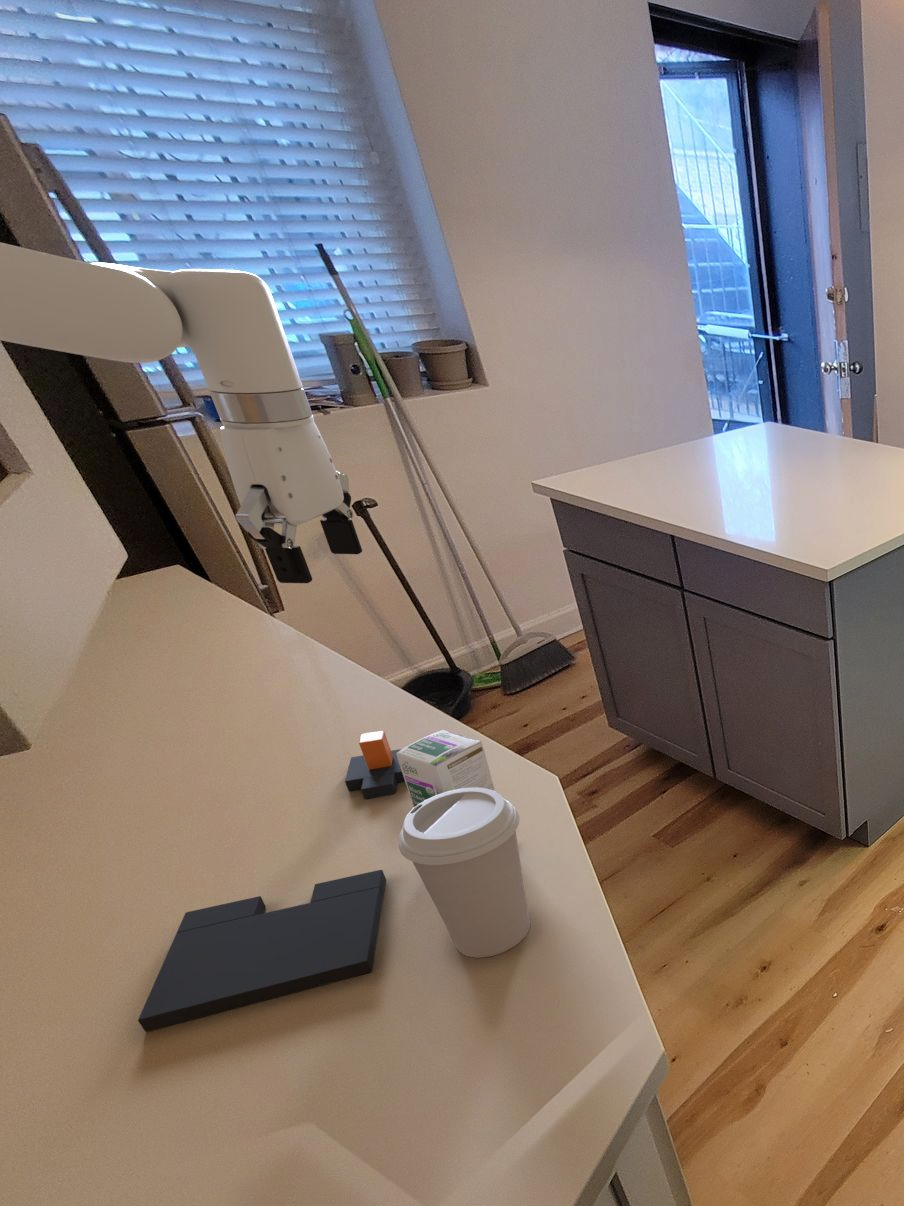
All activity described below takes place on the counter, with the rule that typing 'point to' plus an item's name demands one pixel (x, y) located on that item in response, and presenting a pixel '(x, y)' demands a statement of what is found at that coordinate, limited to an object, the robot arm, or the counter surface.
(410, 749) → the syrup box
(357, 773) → the pad
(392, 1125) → the counter surface
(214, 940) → the notch pad
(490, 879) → the coffee cup
